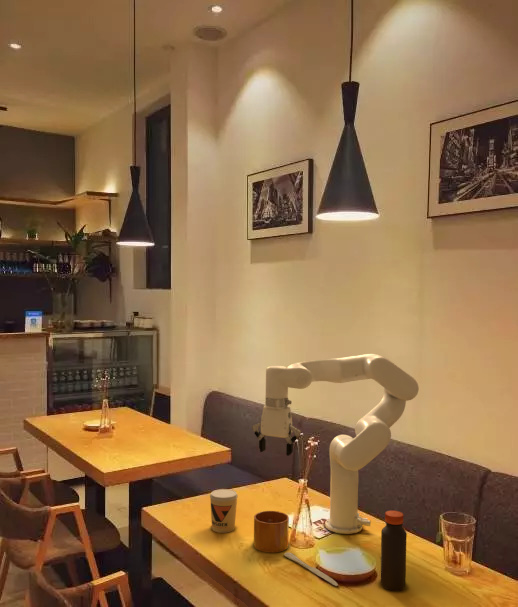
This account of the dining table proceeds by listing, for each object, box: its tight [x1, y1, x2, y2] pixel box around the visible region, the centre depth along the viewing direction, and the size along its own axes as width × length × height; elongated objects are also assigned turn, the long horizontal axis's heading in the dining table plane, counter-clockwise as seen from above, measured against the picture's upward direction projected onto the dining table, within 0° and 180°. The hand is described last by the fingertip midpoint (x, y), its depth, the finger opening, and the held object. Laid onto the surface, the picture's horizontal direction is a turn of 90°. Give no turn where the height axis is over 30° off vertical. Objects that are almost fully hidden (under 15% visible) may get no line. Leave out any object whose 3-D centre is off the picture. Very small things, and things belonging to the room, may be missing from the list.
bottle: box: [379, 510, 407, 592], centre depth 165 cm, size 7×7×20 cm
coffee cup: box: [209, 488, 238, 534], centre depth 203 cm, size 9×9×12 cm
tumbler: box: [253, 510, 290, 553], centre depth 190 cm, size 11×11×9 cm
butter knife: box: [283, 551, 339, 587], centre depth 174 cm, size 1×24×3 cm
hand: (275, 452), depth 202 cm, fingers open, 9 cm apart
